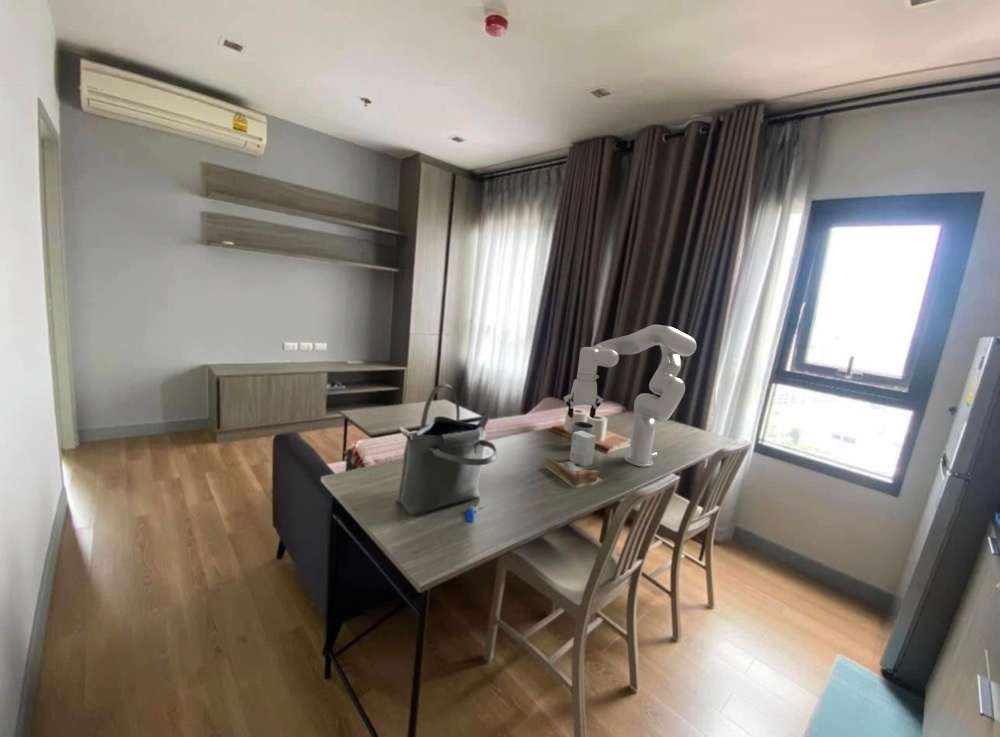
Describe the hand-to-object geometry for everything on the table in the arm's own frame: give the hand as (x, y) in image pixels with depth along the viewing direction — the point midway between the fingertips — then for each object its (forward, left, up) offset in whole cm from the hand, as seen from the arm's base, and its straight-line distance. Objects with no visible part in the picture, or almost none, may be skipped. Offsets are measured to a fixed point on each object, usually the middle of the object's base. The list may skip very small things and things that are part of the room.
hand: (581, 417), depth 173 cm
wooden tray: (+7, +8, -22) cm, 24 cm away
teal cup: (-16, -16, -22) cm, 32 cm away
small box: (-5, -2, -22) cm, 22 cm away
